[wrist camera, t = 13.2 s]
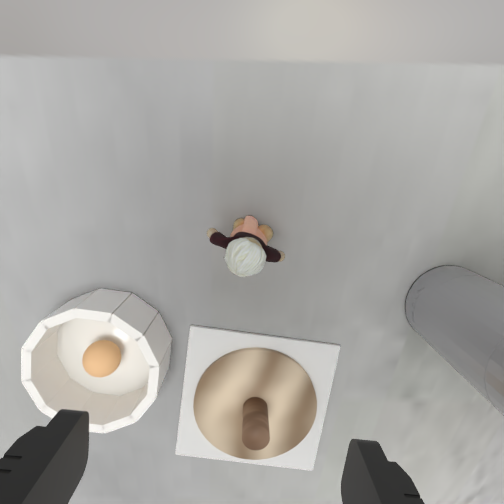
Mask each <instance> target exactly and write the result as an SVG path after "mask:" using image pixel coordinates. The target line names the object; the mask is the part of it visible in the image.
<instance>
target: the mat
mask: <svg viewBox="0 0 504 504" xmlns="http://www.w3.org/2000/svg"><path fill="white" fill-rule="evenodd" d="M254 347H258V348H267V349H272V350H275V351H278V352H281V353H283V354H285V355H287V356H289V357H291V358H292V359H294V360H295V361H296V362H297V363H299V364H300V365H301V366H302V367H303V369H304V370H305V371H306V372H307V374H308V375H309V377H310V379H311V381H312V384H313V387H314V390H315V393H316V399H317V412H316V417H315V421H314V423H313V426H312V428H311V430H310V431H309V433H308V434H307V436H306V437H305V438H304V439H303V440H302V441H301V442H300V443H299V444H298V445H297V446H295V447H294V448H293V449H291V450H289V451H288V452H286V453H284V454H281V455H279V456H276V457H272V458H268V459H261V460H249V459H242V458H237V457H234V456H231V455H228V454H226V453H224V452H222V451H220V450H219V449H217V448H216V447H214V446H213V445H212V444H211V443H210V442H209V441H208V440H207V439H206V438H205V437H204V436H203V434H202V433H201V431H200V429H199V428H198V425H197V423H196V420H195V416H194V409H193V403H194V396H195V391H196V388H197V385H198V382H199V380H200V378H201V376H202V375H203V373H204V372H205V370H206V369H207V368H208V367H209V366H210V365H211V364H212V363H213V362H214V361H216V360H217V359H218V358H220V357H222V356H223V355H225V354H227V353H230V352H232V351H235V350H239V349H244V348H254ZM340 347H341V346H340V345H338V344H331V343H324V342H316V341H309V340H301V339H294V338H286V337H279V336H271V335H264V334H256V333H249V332H241V331H234V330H226V329H219V328H212V327H204V326H197V325H191V326H190V333H189V341H188V350H187V359H186V367H185V376H184V384H183V393H182V401H181V410H180V418H179V427H178V436H177V444H176V453H175V455H184V456H192V457H201V458H209V459H217V460H226V461H234V462H242V463H251V464H259V465H268V466H276V467H284V468H293V469H301V470H309V471H313V467H314V463H315V459H316V454H317V450H318V445H319V441H320V436H321V432H322V427H323V423H324V418H325V414H326V410H327V405H328V401H329V396H330V392H331V387H332V383H333V378H334V374H335V369H336V365H337V360H338V356H339V352H340Z"/></svg>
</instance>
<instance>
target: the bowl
mask: <svg viewBox="0 0 504 504" xmlns="http://www.w3.org/2000/svg"><path fill="white" fill-rule="evenodd" d="M99 340H109V341H111V342H113V343H115V344H116V345H117V346H118V347H119V349H120V352H121V362H120V364H119V366H118V368H117V369H116V370H115V371H114V372H113V373H112V374H110V375H108V376H106V377H93V376H91V375H89V374H88V373H87V372H86V371H85V369H84V367H83V364H82V358H83V354H84V352H85V350H86V349H87V348H88V346H90V345H91V344H92V343H94V342H96V341H99ZM171 346H172V337H171V335H170V333H169V331H168V329H167V327H166V325H165V323H164V321H163V319H162V317H161V315H160V313H159V312H158V310H156V309H155V308H153V307H152V306H150V305H149V304H148V303H146V302H145V301H143V300H142V299H141V298H139V297H138V296H136V295H135V294H133V293H131V292H123V291H116V290H109V289H102V288H100V289H96V290H94V291H91V292H89V293H86V294H84V295H81V296H79V297H76V298H74V299H71V300H70V301H68V302H67V303H66V304H64V305H63V306H61V307H60V308H59V309H57V310H56V311H54V312H53V313H51V314H50V315H49V316H47V317H46V318H44V319H43V320H42V321H40V322H39V324H38V325H37V327H36V328H35V330H34V331H33V332H32V334H31V335H30V337H29V338H28V339H27V341H26V342H25V344H24V345H23V346H22V349H21V380H22V383H23V385H24V386H25V388H26V390H27V391H28V393H29V395H30V396H31V398H32V399H33V401H34V403H35V404H36V406H37V408H38V409H39V410H40V409H41V410H40V411H41V412H43V413H44V414H46V415H47V416H49V417H51V418H52V419H53V417H54V416H55V415H56V414H57V412H58V411H59V410H61V409H69V410H79V411H87V412H88V413H89V432H97V433H108V432H110V431H113V430H116V429H119V428H122V427H124V426H127V425H130V424H133V423H136V422H137V421H138V420H139V418H140V417H141V416H142V415H143V414H144V412H145V411H146V410H147V409H148V408H149V406H150V405H151V404H152V403H153V401H154V400H155V399H156V397H157V395H158V392H159V390H160V388H161V385H162V383H163V380H164V378H165V376H166V373H167V371H168V368H169V365H170V356H171Z"/></svg>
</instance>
